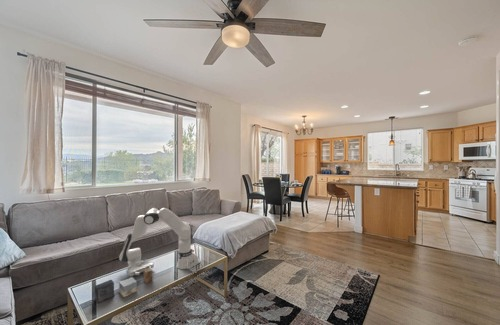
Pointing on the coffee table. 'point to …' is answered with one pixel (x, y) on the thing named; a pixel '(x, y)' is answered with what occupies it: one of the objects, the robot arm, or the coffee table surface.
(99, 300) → the small box
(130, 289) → the tower base
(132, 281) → the tower top
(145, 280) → the walnut block
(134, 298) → the coffee table surface
